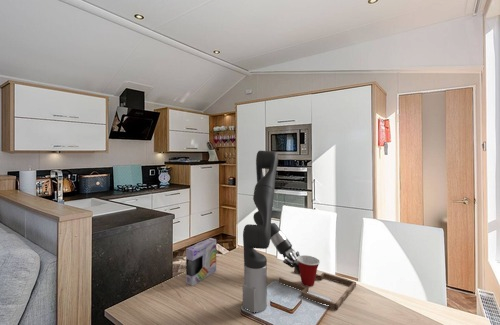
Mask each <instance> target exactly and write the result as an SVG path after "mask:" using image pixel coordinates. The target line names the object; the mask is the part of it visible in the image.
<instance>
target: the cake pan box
mask: <svg viewBox="0 0 500 325" xmlns="http://www.w3.org/2000/svg"><path fill="white" fill-rule="evenodd" d="M185 270H186V271H185V282H186V285H188V286H191V287H194V286H195V285H196V284H198V283H200V282H201V281H203V280H204V279H206V278H208V277H209V276H211V275H212V274H213V273H215V272H216V271H217V239H216V238H212V237H210V238H207V239H205V240H202V241H200V242H198V243H195V244H194V245H192V246H189V247H186V249H185Z"/></svg>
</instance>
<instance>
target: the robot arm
mask: <svg viewBox="0 0 500 325" xmlns="http://www.w3.org/2000/svg"><path fill="white" fill-rule="evenodd" d="M278 163H279V155H278V152H276V151H273V150H258V151H257V153H256V157H255V170H256V171H255V172H256V184H255V186H254V188H253V190H254V191H253V194H252V196H253V198H252V200H253V202H254V205H255V207H256V209H257V210H258V211H256V212H254V213H253V215H252V216H253V221H254V223H255V224H245V226H244V228H243V232H242V242H243V243H242V244H243V271H244V272H243V274H244V275H243V280H244V281H243V284H242V308H243V307H245V308H246V309H248V310H250V311H251V312H250V311H249V312H250V313H252V312H254V313H253V314H256V313H258V312H257V311H261V312H264V309H265V310H266V309H267V308H268V307H267V306H268V300H267V298H268V295H267V294H268V293H267V291H268V286H267V284H268V281H267V279H268V276H267V273H268V272H267V270H268V266H267V265H268V264H267V263H268V262H267V260H268V259H267V257H266V256H265V255H264V254H263V253H260V252H259V251H257V250H258V249H260V250H261V249H263V250H265V249H267V250H268V248H269V247H270V242H271V243H272V245H273V246H274V247H275V249H276V250H277V251H278V254H280V255H282V257H283V258H284V260H283V261H282V262H283V264H285V265H286V266H288V267H290V268H292V269H294V268H296V269H297V271H298V272H299V273H300V270H299V263H298V260H297V257H298V256H301V255H300V252H299V251H298V250H297V251H295V249H294V248H293V244H292V242H290V240H289V239H288V237H287V236H286V235H285V234H284V233H283V231H282V230H281V229H280V228H279V226H278V225H277V224H276V223H274V222H272V218H273V205H274V199H275V198H274V197H275V185H276V174H277V170H278ZM263 169H264V170H268V171H267V172H266V174H264V173H263ZM256 249H257V250H256ZM299 273H298V274H299ZM246 309H245V310H246ZM248 310H247V311H248ZM255 312H256V313H255Z"/></svg>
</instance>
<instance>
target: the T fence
mask: <svg viewBox="0 0 500 325" xmlns="http://www.w3.org/2000/svg"><path fill="white" fill-rule="evenodd" d="M293 271H294V273H297V274H299V275H300V273H299V272H298V271H297V269H296V268H294V267H293ZM323 279H328V280H331V281H335V282H337V283H341V284H343V285H348V286H349V287H348V288H347V289H346V290H345V291H344V292H343V294H342V295H341V296H340V297H339V299H337V301H336V302H333V301H330V300H327V299H325V298H322V297H320V296H317V295H315V294H311V293H309V288H308V286H304V285H302V284H298V283H296V282H292V281H289V280H286V279H284V278H280V277H279V278H278V283H279V284H280V283H282V284H281V285H283V284H285V285H284V286H286V285H288V286H287V287H289V286H291V287H294V288H296V289H295V290H297V289H299V290H301V291H300V297H301V296H303V297H302V298H304V297H305V298H304V299H306V298H308V299H307V300H309V299H310V301H312V300H313V301H312V302H314V301H316V302H315V303H317V302H319V303H322V304H326V305H329V307H328V308H330V309H333V310H334V311H335V310H336V311H338V310H339V308H340V307H341V306H342V304H344V302H345V301H346V300H347V298H348V297H349V296H350V294H352V293H353V290H355V288H356V287H357V282H356V281H353V280H350V279H347V278H343V277H341V276H337V275H333V274H330V273H326V272H324V271H323V272H322V273H321V274H318V273H316V278H315V280H318V281H322V280H323ZM291 287H290V288H291ZM294 288H293V289H294ZM299 290H298V291H299ZM307 292H308V293H307ZM319 303H318V304H319ZM322 304H321V305H322Z"/></svg>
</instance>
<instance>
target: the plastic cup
mask: <svg viewBox="0 0 500 325" xmlns="http://www.w3.org/2000/svg"><path fill="white" fill-rule="evenodd" d="M297 260H298V263H299V270H300V274H299V276H300V280H301V285H302V286H304V287H313V286H314V285H315V283H316V279H315V278H316V274H318V273H317V271H318V267H319V265H320V263H321V261H320V259H319V258H317V257H315V256H312V255H304V254H303V255H300V256H298V257H297Z"/></svg>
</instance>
